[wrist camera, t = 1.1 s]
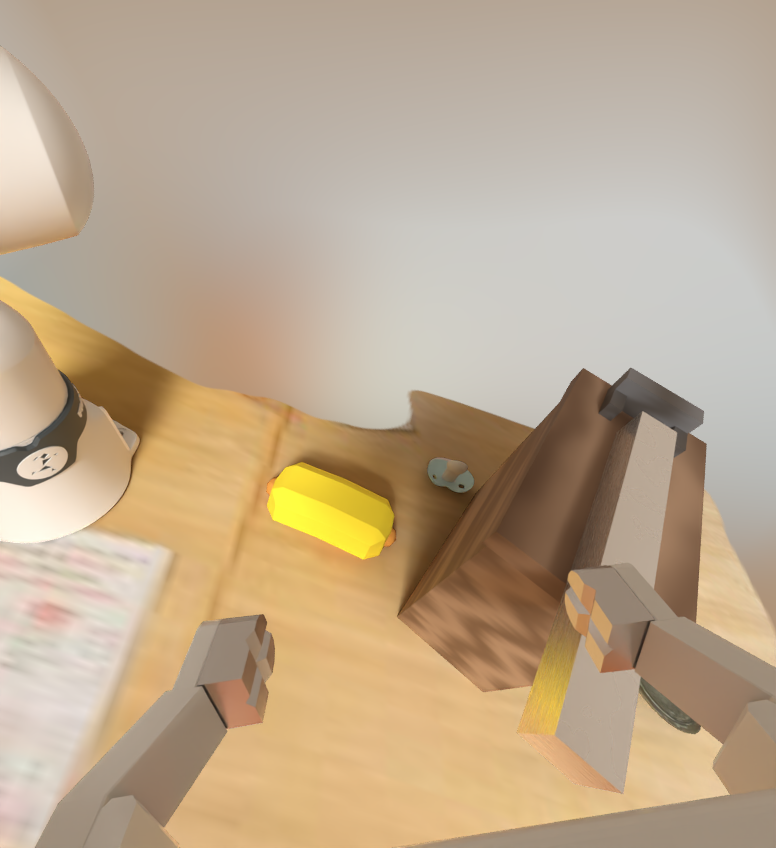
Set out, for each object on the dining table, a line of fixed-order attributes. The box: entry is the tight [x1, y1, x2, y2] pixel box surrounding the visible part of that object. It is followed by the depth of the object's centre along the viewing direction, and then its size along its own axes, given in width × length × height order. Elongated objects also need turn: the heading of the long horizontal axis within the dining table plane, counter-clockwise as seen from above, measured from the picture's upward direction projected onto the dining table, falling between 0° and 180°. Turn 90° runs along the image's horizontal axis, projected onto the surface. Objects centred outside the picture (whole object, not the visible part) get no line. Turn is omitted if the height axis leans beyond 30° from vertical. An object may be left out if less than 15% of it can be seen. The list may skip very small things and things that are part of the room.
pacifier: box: [427, 457, 474, 493], centre depth 55 cm, size 7×6×6 cm
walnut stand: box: [397, 368, 706, 692], centre depth 38 cm, size 13×23×29 cm, turn 144°
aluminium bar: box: [517, 411, 677, 794], centre depth 23 cm, size 3×25×3 cm, turn 144°
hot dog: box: [266, 462, 396, 560], centre depth 46 cm, size 18×7×8 cm
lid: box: [639, 677, 701, 734], centre depth 44 cm, size 11×10×5 cm
